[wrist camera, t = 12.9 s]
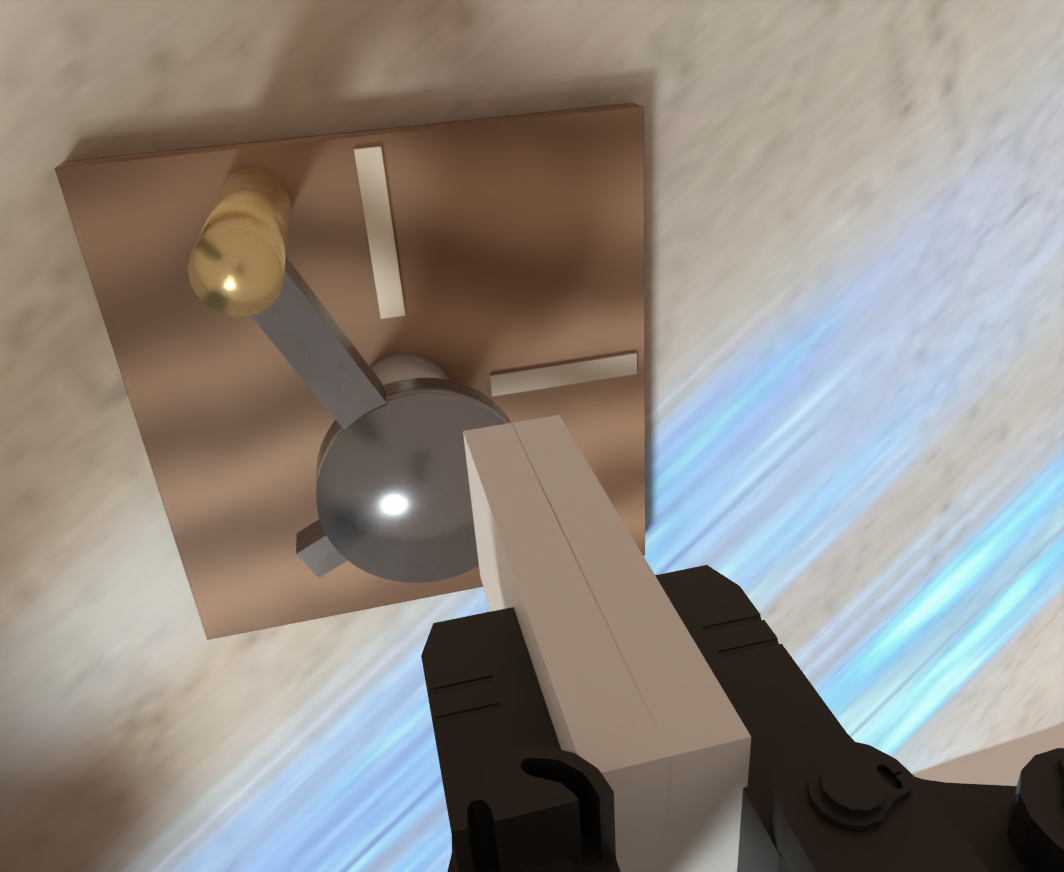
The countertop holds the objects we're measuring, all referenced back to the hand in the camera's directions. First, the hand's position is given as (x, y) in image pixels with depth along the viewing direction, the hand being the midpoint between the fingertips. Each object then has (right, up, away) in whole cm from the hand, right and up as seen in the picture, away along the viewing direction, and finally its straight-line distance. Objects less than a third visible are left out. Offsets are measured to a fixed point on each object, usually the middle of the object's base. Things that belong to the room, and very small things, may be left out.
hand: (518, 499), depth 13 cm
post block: (-7, +4, +32) cm, 33 cm away
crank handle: (-9, +6, +28) cm, 30 cm away
